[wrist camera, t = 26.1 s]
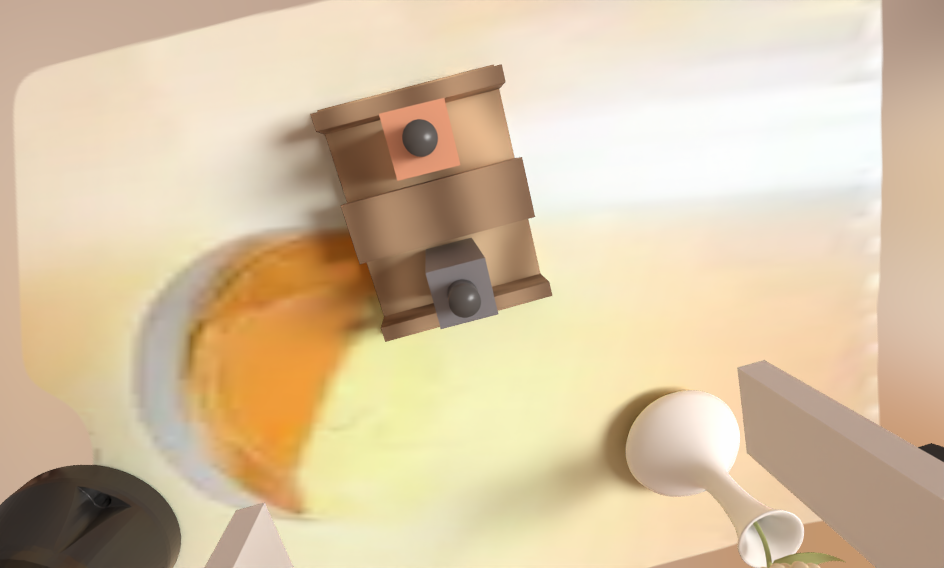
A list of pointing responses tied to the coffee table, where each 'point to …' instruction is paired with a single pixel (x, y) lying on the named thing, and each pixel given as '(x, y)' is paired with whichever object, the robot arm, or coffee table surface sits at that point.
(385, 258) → the wooden ridged block
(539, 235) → the coffee table surface
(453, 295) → the charcoal plug
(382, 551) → the coffee table surface
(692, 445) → the flower in vase
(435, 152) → the terracotta plug
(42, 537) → the robot arm
